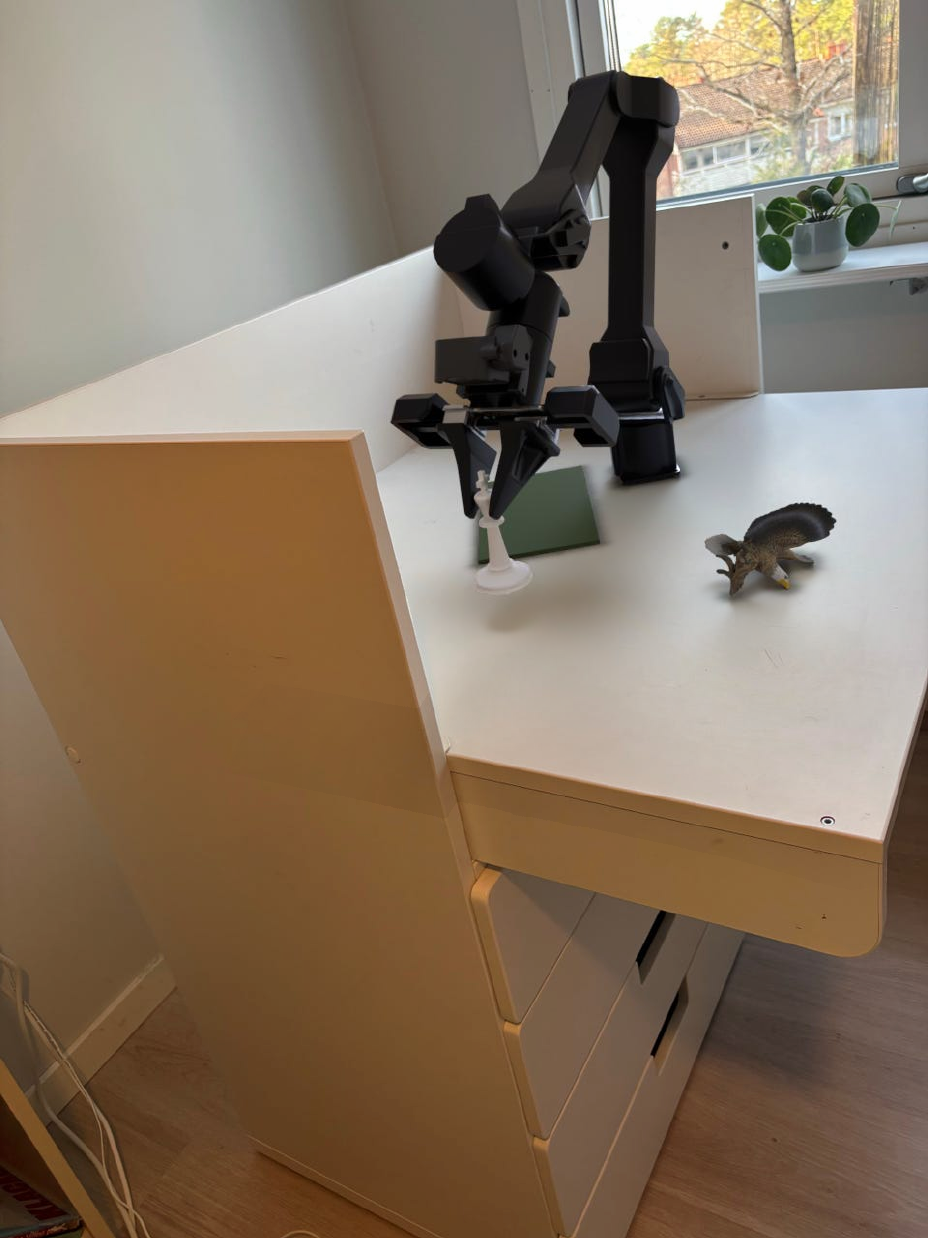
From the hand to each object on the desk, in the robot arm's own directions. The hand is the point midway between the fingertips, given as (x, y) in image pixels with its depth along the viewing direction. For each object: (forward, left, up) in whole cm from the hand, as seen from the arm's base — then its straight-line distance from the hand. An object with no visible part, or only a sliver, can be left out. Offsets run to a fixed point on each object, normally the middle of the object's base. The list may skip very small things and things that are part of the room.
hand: (480, 517), depth 75 cm
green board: (-4, -25, -10) cm, 27 cm away
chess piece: (-1, -1, -7) cm, 7 cm away
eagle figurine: (-23, -1, -10) cm, 25 cm away
